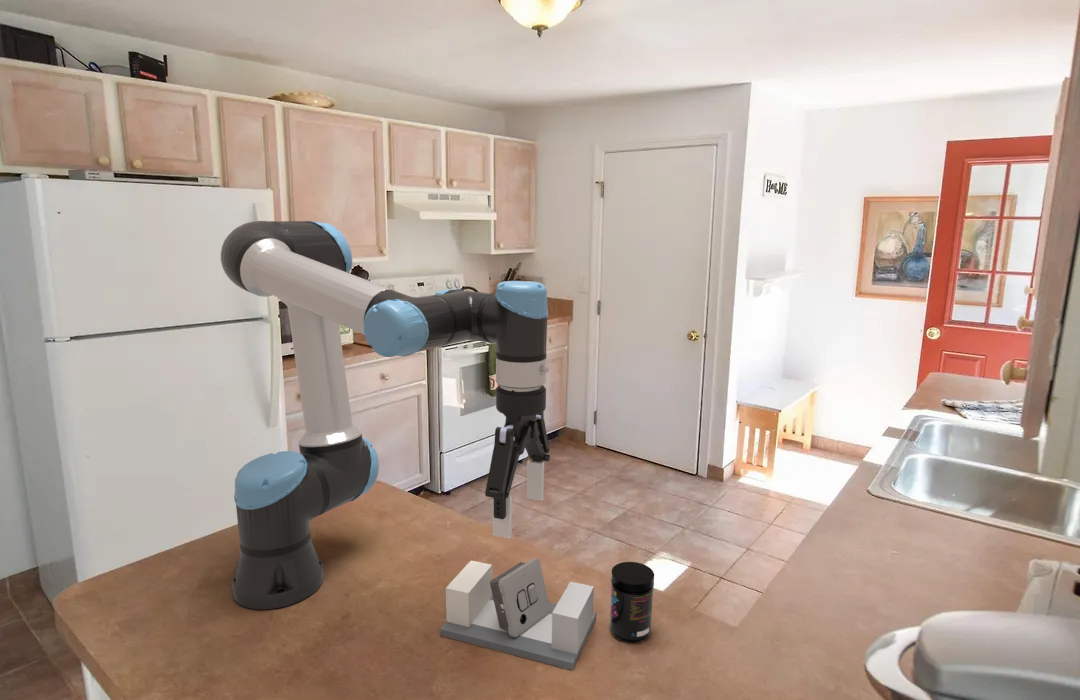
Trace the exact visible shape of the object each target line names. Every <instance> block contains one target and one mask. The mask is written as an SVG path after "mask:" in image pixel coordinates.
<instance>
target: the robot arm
mask: <svg viewBox="0 0 1080 700" xmlns="http://www.w3.org/2000/svg"><path fill="white" fill-rule="evenodd" d="M220 262H221V267H222V269H223V271H224V273H225V274H226V275H225V276H227V277H228V279H229V280H230V281H231V282H232V283H233V284H234V285H235V286H237V287H238V288H240V289H242V290H244V291H246V292H248V293H251V294H253V295H256V296H259V297H262V298H263V297H271V296H274V297H276V299H278V300H279V301H281V302H282V303H283V304H285V306H286V307H287V312H288V319H289V325H290V333H291V338H292V341H291V342H292V346H293V354H294V360H295V368H296V375H297V381H298V382H297V383H298V388H299V396H300V403H301V409H302V416H303V422H304V428H305V429H304V430H305V432H304V433H303V435H302V436H300V439H299V440H298V449H299V452H297V451H290V450H289V451H288V450H285V451H283V450H282V451H278V452H276V453H273V452H271V453H267V454H264V455H261V456H258V457H256V458H254V459H252V460H250V461H249V462H247V463H246V464H244V465H243V466H242V467H241V468H240V469H239V470H238V472H237V473H236V476H235V479H234V496H233V500H234V502H235V510H236V517H237V518H236V519H237V528H238V540H239V552H240V553H239V555H238V560H237V563H236V569H235V574H234V575H233V579H232V582H231V584H232V585H231V589H232V596H233V599H234V601H235V602H236V603H237V604H238V605H239V606H241V607H244V608H247V609H252V610H272V609H273V610H274V609H278V608H279V609H280V608H283V607H288V606H291V605H293V604H297V603H298V602H301V601H303V600H304V599H306V598H309V597H310V596H312V595H313V594H314V593H315V592H317V590H319V588H320V587H321V586H322V584H323V582H324V579H325V577H324V576H325V575H324V564H323V563H322V560H321V559H320V557H319V554H318V552H317V549H316V547H315V545H314V543H313V541H312V536H311V535H312V534H311V520H313V519H314V518H316V517H318V516H321V515H323V514H325V513H328V512H330V511H332V510H334V509H336V508H338V507H341V506H342V505H344V504H347V503H351V502H354V501H356V500H357V499H358V498H360V497H361V496H362V495H364V494H367V493H368V492H369V491H370V490H371V489H372V488H373V486H374V485H375V484H376V481H377V479H378V476H379V470H380V463H379V456H378V453H377V450H376V449H375V448H373V444H372V442H371V441H370V440H368V439H367V438H366V437H364V436H363V433H362V430H361V429H359V428H358V427H357V426H355V425H354V424H353V419H352V411H351V404H350V397H349V390H348V389H349V388H348V384H347V383H348V382H347V374H346V367H345V360H344V354H343V353H344V352H343V346H342V337H341V329H340V325H341V326H343V327H346V328H348V329H350V330H353V331H355V332H357V333H360V334H361V335H364V337H365V340H366V343H367V344H368V345H369V346H370V347H372V349H373V351H374V353H376V354H378V355H379V356H381V357H386V358H395V357H408V356H411V355H414V354H416V353H419V352H424V351H428V350H432V349H435V348H440V347H444V346H448V345H449V346H450V345H453V344H457V343H462V342H466V341H477V342H482V343H483V342H485V343H490V344H495V353H496V355H495V383H496V384H497V385H498V386H497V387H496V388H495V389H496V390H495V408H496V410H497V411H498V412H499V413H500V414H503V416H504V417H505V422H504V425H503V427H501V426H500V427H499V426H497V427H496V428H495V432H494V444H493V450H492V455H491V461H490V464H489V465H490V466H489V471H488V476H487V482H486V487H485V493H484V495H485V497H488V498H492V536H494V537H499V538H503V539H511V538H512V537H513V530H512V529H513V527H512V526H513V495H512V494H510V492H511V489H512V485H513V483H514V482H513V481H514V477H515V474H516V470H517V466H518V463H519V458H520V456H521V455H523V454H524V452H525V450H526V452H527V455H528V457H529V460H527V461H526V465H527V466H526V499H528V500H534V501H539V502H543V500H544V494H545V493H544V492H545V491H544V489H545V488H544V487H545V485H544V483H545V482H544V481H545V480H544V479H545V462H549V461H550V460H551V455H550V454H549V452H550V445H549V439H548V438H549V437H548V434H547V428H546V423H545V418H544V417H545V415H544V412H545V411H546V408H547V407H546V405H547V388H546V387H545V384H546V383H547V380H546V379H547V373H549V371H550V367H549V366H548V365H547V342H548V341H547V338H548V317H549V310H548V307H549V306H548V290H547V287H546V285H544V284H543V283H541V282H538V281H531V280H529V281H528V280H527V281H526V280H506V281H500V282H499V283H498V284H497V286H496V289H495V290H496V291H495V293H490V292H482V291H481V292H480V291H472V290H464V289H461V288H456V289H441V290H438V291H437V292H435V294H434V295H432V294H431V295H425V296H424V295H423V296H417V297H416V296H410V295H407V294H404V293H402V292H399V291H397V290H393V289H391V288H388V287H386V286H383V285H381V284H379V283H375V282H373V281H370V280H368V279H366V278H362V277H360V276H357V275H355V274H351V272H350V271H351V270H352V268H353V255H352V250H351V247H350V244H349V243H348V240H347V238H346V237H345V236H344V233H342V232H340V231H339V229H337V227H335V226H334V225H332V224H329V223H328V222H327V223H326V222H320V221H319V222H317V221H313V220H303V221H302V220H300V221H298V220H293V221H292V220H291V221H290V220H289V221H288V220H285V221H284V220H283V221H282V220H281V221H277V220H276V221H274V220H269V221H267V220H254V221H249V222H246V223H243V224H241V225H239V226H237V227H236V228H234V229H233V230H232V231H231V232H230V233H229V234H228V235H227V237H225V239H224V240H223V243H222V246H221V250H220Z"/></svg>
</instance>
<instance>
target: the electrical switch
mask: <svg viewBox="0 0 1080 700" xmlns="http://www.w3.org/2000/svg"><path fill="white" fill-rule="evenodd" d="M543 574H544V573H543V570H542V565H541V561H540V559H538V558H535V557H534V558H532V559H530V560H529V561H527V562H518V563H517V564H515V565H514V566H511V568H509V569H507V570H506V571H504V572H503V573H501V574H499V575H498V576H497V577H495V578H492V580H491V581H490V586H491V590H492V595H493V599H494V604H495V609H496V613H497V618H498V622H499V627H500V628H501V629H506V630H507V631H509V635H510V636H511V637H518V636H519V635H520V634H522V633H523V632H524V631H525V630H527V629H528V628H529V627H531V626H532V625H533V624H535V623H536V622H537V621H539V620H540V619H541V618H542V617H544V616H545V615H546V614H548V613H549V610H550V606H549V598H548V597H549V596H548V592H547V589H546V588H547V587H546V583H545V580H544V575H543ZM500 600H501V601H500ZM501 604H502V607H503V609H502V607H501ZM502 611H503V612H502Z"/></svg>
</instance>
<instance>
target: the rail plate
mask: <svg viewBox="0 0 1080 700" xmlns="http://www.w3.org/2000/svg"><path fill="white" fill-rule="evenodd" d="M491 580H493V565H492V564H490V563H484V562H482V561H481V562H480V561H475V560H471V559H470V561H469V562H468V563H467V564H466V565H465V566H464V567H463V569H462V570H461V571H460V572H459V573H458V574H457V575H456V576H455V577H454V579H452V581H451V582H449V584H448V585H447V586H446V587H445V607H446V608H445V611H446V615H445V617H446V619H445V620H446V621H445V623H444V624H443V625H442V626H441V628H440V637H444V638H449V639H451V640H456V641H459V642H463V643H467V644H471V645H475V646H479V647H483V648H486V649H489V650H494V651H498V652H502V653H505V654H508V655H509V654H510V655H513V656H518V657H521V658H523V659H528V660H531V661H535V662H536V661H537V662H539V663H543V664H547V665H550V666H555V667H559V668H562V669H565V668H566V669H567V670H569V669H570V671H573V670H574V669H575V666H576V663H577V662H578V660H579V657H580V655H581V653H582V650H583V649H584V647H583V646H585V644H586V641H587V640H588V638H589V636H588V635H590V633H591V631H592V630H593V626H594V625H593V624H595V623H596V620H597V612H594V595H595V594H594V593H595V586H592V585H588V584H583V583H579V582H576V581H575V582H574V581H569V583H568V584H567V587H566V588H565V590H564V591H563V593H562V595H561V597H560V598H559V600H558V602H557V603H554V602H551V601H550V602H549V606H550V610H549V613H548V614H546V615H545V616H544V617H542V618H541V619H540V620H539V621H537V622H536V623H535V624H533V625H532V626H531V627H529V628H528V629H527V630H525V631H524V632H523V633H522V634H520V635H519V636H518V637H511V636H510V635H509V631H507V630H506V629H501V628H500V627H499V622H498V618H497V613H496V609H495V604H494V599H493V595H492V590H491V586H490V581H491ZM500 601H501V600H500ZM501 607H502V604H501ZM502 609H503V607H502ZM502 612H503V611H502ZM594 622H595V623H594ZM587 637H588V638H587ZM577 659H578V660H577Z"/></svg>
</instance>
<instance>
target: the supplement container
mask: <svg viewBox="0 0 1080 700" xmlns="http://www.w3.org/2000/svg"><path fill="white" fill-rule="evenodd" d="M610 575H611V576H610V577H611V578H610V582H611V584H610V586H611V587H610V607H609V608H610V609H609V612H610V613H609V629H610V631H611V633H612V636H614V637H615V638H616V639H618V640H619V641H621V642H624V643H628V644H629V643H630V644H638V643H641V642H644V641H646V640H647V639H648V638H649V637H650V635H651V633H652V624H653V623H652V621H653V601H654V588H655V587H654V586H655V572H654V571H653V569H652V568H651V567H650V566H648V565H646V564H644V563H640V562H637V561H623V562H619V563H617V564H615V565H614V566H613V567H612V568H611V574H610Z"/></svg>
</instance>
